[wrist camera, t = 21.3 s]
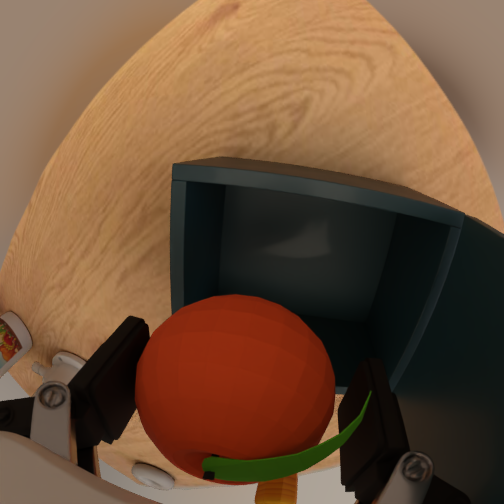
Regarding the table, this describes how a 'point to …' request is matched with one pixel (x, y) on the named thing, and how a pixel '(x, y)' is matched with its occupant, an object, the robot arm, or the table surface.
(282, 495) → the carrot
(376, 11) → the table surface
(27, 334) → the milk bottle
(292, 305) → the box
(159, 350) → the clementine
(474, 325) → the lid
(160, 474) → the donut
